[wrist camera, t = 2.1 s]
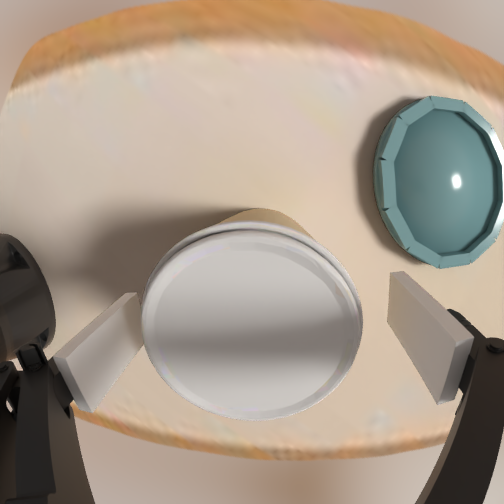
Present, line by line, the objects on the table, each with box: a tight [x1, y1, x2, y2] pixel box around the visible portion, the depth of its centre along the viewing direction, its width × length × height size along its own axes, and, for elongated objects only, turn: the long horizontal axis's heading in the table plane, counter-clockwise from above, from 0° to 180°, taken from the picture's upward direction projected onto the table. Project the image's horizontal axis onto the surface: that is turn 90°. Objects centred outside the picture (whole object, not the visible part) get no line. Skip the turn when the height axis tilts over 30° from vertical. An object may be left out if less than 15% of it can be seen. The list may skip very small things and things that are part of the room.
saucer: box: [373, 96, 504, 269], centre depth 19 cm, size 14×14×2 cm
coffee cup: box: [141, 209, 363, 421], centre depth 17 cm, size 9×9×12 cm
